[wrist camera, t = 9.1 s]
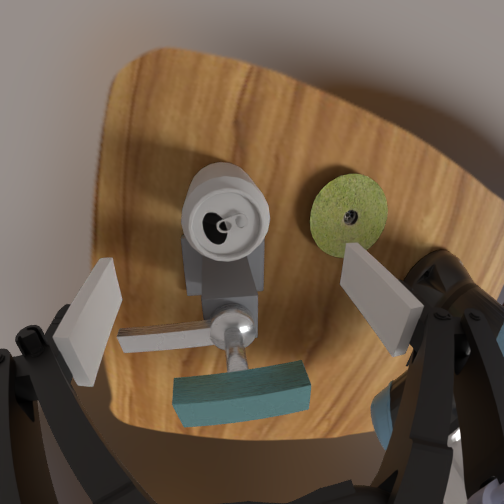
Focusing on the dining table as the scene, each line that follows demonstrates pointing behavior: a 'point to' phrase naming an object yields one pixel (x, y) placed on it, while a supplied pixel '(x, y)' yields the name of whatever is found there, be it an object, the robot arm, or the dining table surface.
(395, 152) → the dining table surface
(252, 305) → the grey pedestal post
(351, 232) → the mat
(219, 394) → the teal grip latch lever
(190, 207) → the can
